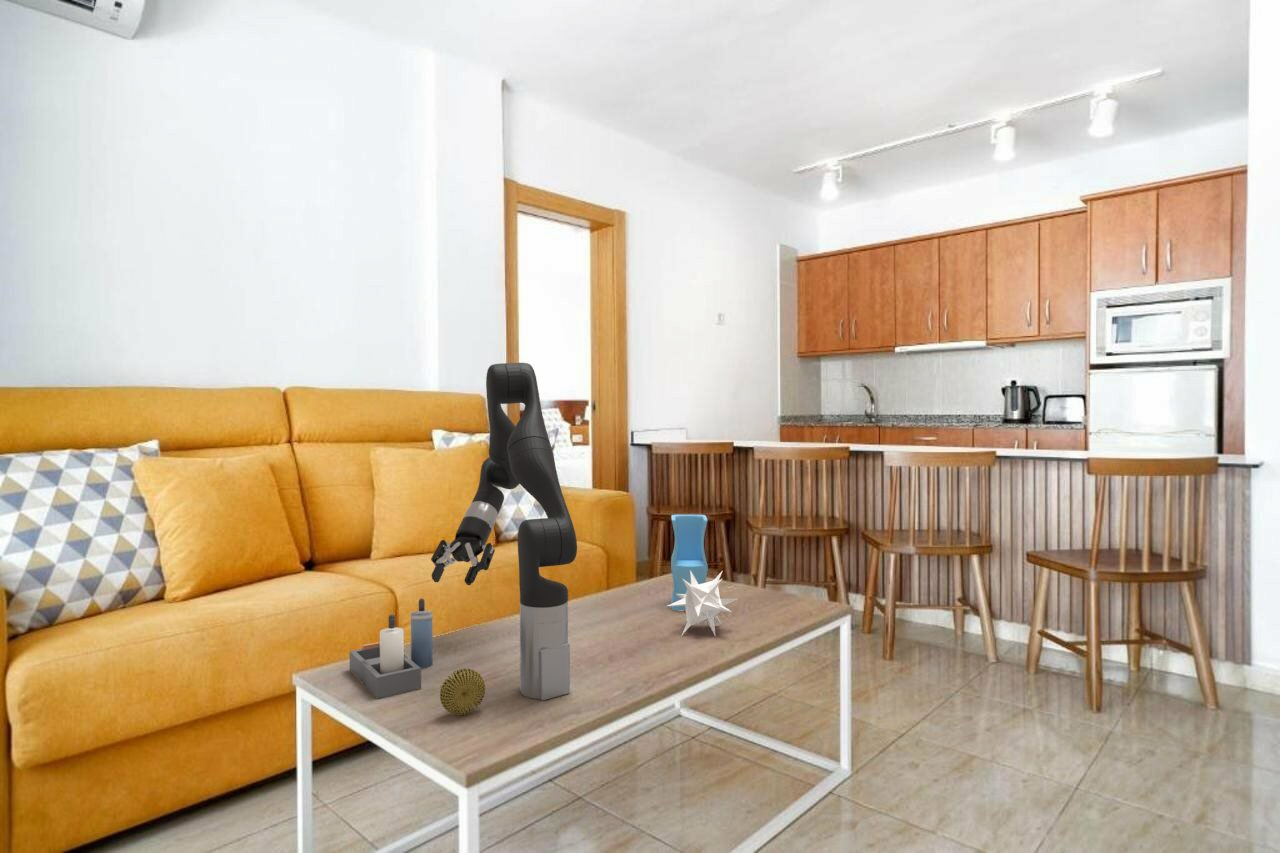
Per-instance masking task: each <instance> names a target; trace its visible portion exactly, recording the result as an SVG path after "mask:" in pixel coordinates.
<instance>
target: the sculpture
mask: <svg viewBox="0 0 1280 853" xmlns="http://www.w3.org/2000/svg"><path fill="white" fill-rule="evenodd" d="M485 694H486V683H485V680H484V678H483V677H482V676H481V674H480V673H479V672H478V671H475V670H474V669H470V668H461V669H457V670H456V671H455V670H454V671H453V672H451V673H450V674H449V675H447V678H445V679H444V681H443V682H442V685H441V686H440V691H439V699H440V703H441V705H442V708H443V709H444V710H445V711H447V712H448V713H450V714H451V715H454V716H465V715H469V714H470V713H472V712H473V711H476V709H477V708H479V706H480V705H482V704H481V703H483V700H484V698H485Z"/></svg>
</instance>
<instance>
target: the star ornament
mask: <svg viewBox="0 0 1280 853" xmlns="http://www.w3.org/2000/svg"><path fill="white" fill-rule="evenodd" d="M722 573H723V571H721V572H719V574H718V575H717V576H716V577H715V578H714V579H713V580H711V581H707V582H706V581H705V583H702V584H698V583H697V581H696V579H695V577H694V575H693V574H692V572H691V570H690V574H691V584H690V583H688V582H687V581H685V580H684V579H683V581H684V583H685V585H686V587H687V592H686V594H676V595H678V596H679V597H681V598H682V599H681V600H679V601H677V602H674V603H672V604H671V603H670V604H668V605H667V607H671V606H685V610H686V611H685V616H686V620H685V622H684V624H683V626H684V629H683V631H682V634H681V636H680V637H682V636H683V635H684V634H685V633H686V631H688V629H689V628H690V627H691V626H695V625H697V624H700V623H704V622H707V624H708V626H709V628H710V629H711V632H712V633H713V635H714V636H716V627H715V622H716V623H718V624H719V625H722V623H721V620H720V619H719V617H718V616H719V615H718V614H719V613H721V612H729V613H733V612H732V611H731V610H730V609H729V608H727V607H726V606H725V605H728V604H730V603H732V602H735V601H737V600H738V598H721V597H720V590H719V585H720V583H721V581H722V580H723V578H721V576H722ZM720 578H721V579H720Z"/></svg>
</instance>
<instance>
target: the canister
mask: <svg viewBox="0 0 1280 853" xmlns="http://www.w3.org/2000/svg"><path fill="white" fill-rule="evenodd" d="M425 601H426V600H425V599H424V598H419V599H418V610H417V611H414V612H411V613H410V660H412V661H413V662H414V663H415V664H417V665H418V666H419V667H420V668H421V669H426V668H429V667H431V666H432V665H433V660H434V659H433V645H434V644H433V643H434V642H433V630H434V629H433V617H434V616H433V615H434V614H433V613H434V612H433V611H432V610H426V609H425V605H426V604H425Z"/></svg>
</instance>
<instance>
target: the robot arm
mask: <svg viewBox="0 0 1280 853" xmlns="http://www.w3.org/2000/svg"><path fill="white" fill-rule="evenodd" d="M487 368H488V369H487V372H486V377H485V389H486V401H487V402H486V403H487V404H486V405H487V415H488V423H489V440H488V441H489V442H488V443H489V444H488V455H489V457H488V458H486V459H484V461H483V462H482V464H481V467H480V474H479V475H480V476H479V482H478V488H477V491H476V493H475V495H474V497H473V499H472V501H471V504H470V505H469V507H468V508H467V510H466V512H465V514H464V516H463V517H462V520H461V522H460V524H459V526H458V528H457V530H456V533H455V537H454V540H452V542H446V540H445V539H442V540H440V542H439V543H438V545H437V547H436V549H435V551H434V552H433V555H432V556H431V558H430V561H431V562H432V563H433V565H434V569H433V571H432V573H431V578H432V580H433V582H434V583H440V581H441V577H443V576H442V575H443V574H444V571H445V569H446V568H447V567H448V566H450V565H453V564H455V563H456V562H460V563H461V562H465V563H471V566H469V568H468V570H467V573H466V575H465V578H464V580H463V582H464V583H465V584H466V585H467V586H471V585H472V584H473V583H474V582H475V580H476V578H477V576H478V573H479V572H481V571H483V570H484V571H488V570H489V568H490V565H491V562H492V560H493V557H494V555H495V552H496V551H495V550H496V549H495V548H494V546H493V545H492V543H491V542H488V540H489V537H490V535H491V534H492V531H493V529H494V527H495V524H496V520H497V519H498V518H497V517H498V514H499V512H500V510H501V509H502V506H503V503H504V500H505V495H504V492H502V490H501V489H499V488H502V489H506V490H513V489H516V488H517V487H518V486H519V485H520V486H521V487H522V488H523V490H525V491H526V492H527V493H528V494H529V495H530V496H531V497H532V498H534V499H535V500H536V502H538V504H539V505H540V507H541V508H542V510H543V511H544V512H545V514H546V517H547V518H546V517H545V518H531V519H524V520H522V521H521V523H520V524H519V526H518V531H517V556H518V571H519V572H518V574H519V577H518V582H519V583H518V584H519V585H518V586H519V690H520V694H522V695H523V696H524V697H526V698H530V699H538V700H540V701H545V700H546V701H547V700H548V699H549V700H550V699H553V698H556V697H560V696H563V695H567V694H570V693H571V676H570V674H571V658H570V657H571V647H570V646H571V645H570V643H569V590H568V587H567V586H566V585H565V584H564V583H562V582H558V581H556V580H551V579H547V578H545V577H544V576H542V575H541V574H540V568H544V567H545V568H546V567H555V566H564V565H570V564H571V563H573V562H574V561H575V559H576V557H577V552H578V543H577V542H578V540H577V535H576V530H575V527H574V524H573V520H572V518H571V515H570V511H569V509H568V506H567V503H566V500H565V497H564V495H563V491H562V487H561V485H560V480H559V476H558V471H557V467H556V462H555V457H554V452H553V449H552V445H551V441H550V438H549V435H548V430H547V427H546V424H545V420H544V415H543V411H542V410H543V409H542V404H541V399H540V393H539V387H538V381H537V376H536V372H535V369H534V368H533V366H532V365H531V364H530V363H528V362H505V363H503V362H502V363H494V364H491V365H490V366H489V367H487ZM520 403H521V404H524V409H523V411H522V414H521V416H520V418H519V420H518V422H517V423H516V425H515V423H514V422H513V421H512V420H511V419H510V418H509V416H508V415H507V414H506V413H505V411H504V410H503V408H502V405H508V404H520ZM498 487H499V488H498ZM481 554H482V556H481V558H480V560H479V558H478V556H479V555H481ZM451 556H452V557H451Z"/></svg>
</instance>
